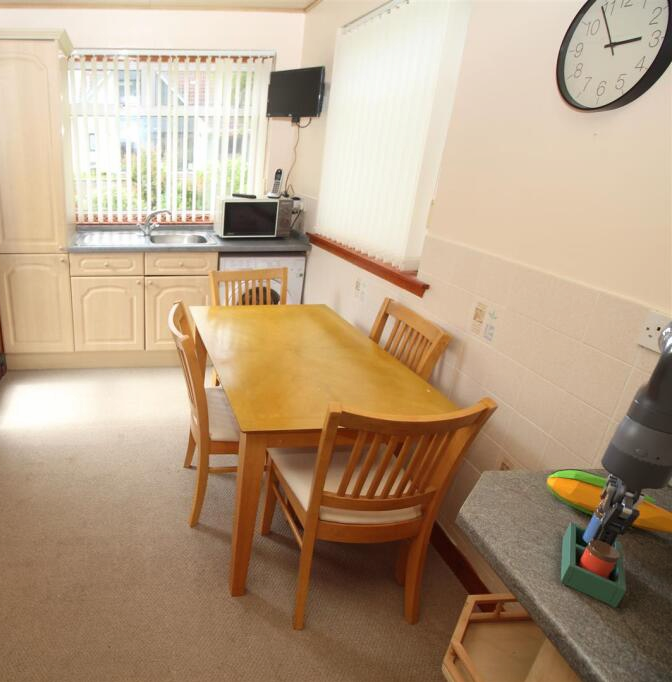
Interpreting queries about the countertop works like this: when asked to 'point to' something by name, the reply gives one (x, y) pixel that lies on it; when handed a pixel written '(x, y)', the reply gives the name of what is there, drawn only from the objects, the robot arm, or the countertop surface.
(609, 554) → the red pot
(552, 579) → the countertop surface
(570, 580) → the caddy
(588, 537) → the blue and brown cylinder
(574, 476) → the corn
